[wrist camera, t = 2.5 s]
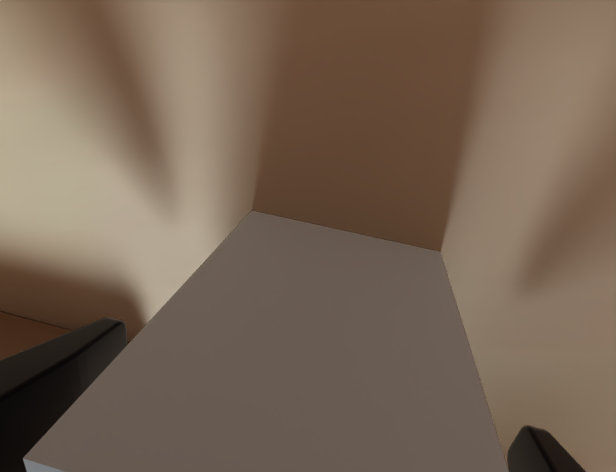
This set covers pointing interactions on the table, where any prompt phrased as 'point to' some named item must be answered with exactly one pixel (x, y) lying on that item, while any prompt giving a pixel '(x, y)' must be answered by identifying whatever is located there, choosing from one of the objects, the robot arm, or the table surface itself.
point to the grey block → (290, 367)
